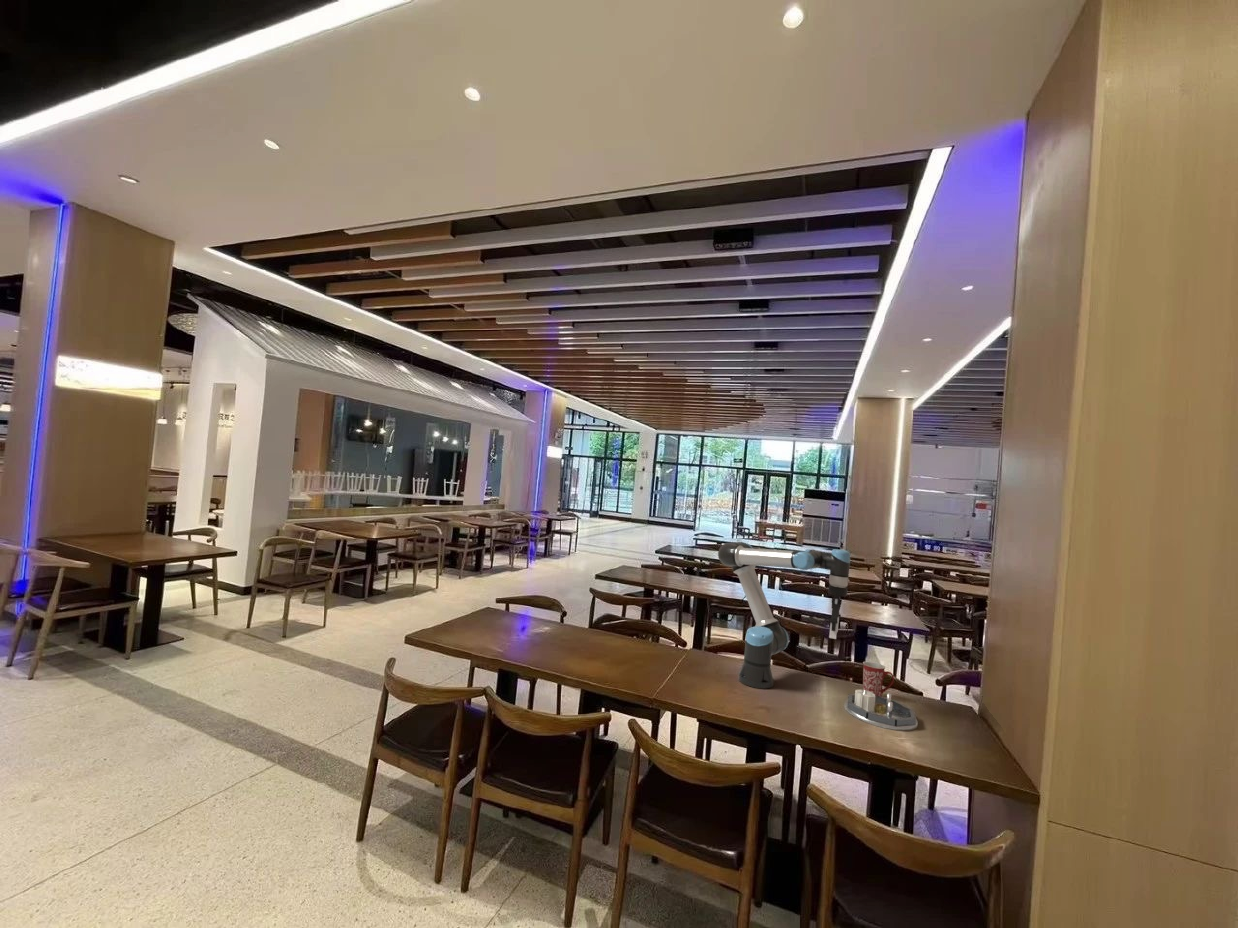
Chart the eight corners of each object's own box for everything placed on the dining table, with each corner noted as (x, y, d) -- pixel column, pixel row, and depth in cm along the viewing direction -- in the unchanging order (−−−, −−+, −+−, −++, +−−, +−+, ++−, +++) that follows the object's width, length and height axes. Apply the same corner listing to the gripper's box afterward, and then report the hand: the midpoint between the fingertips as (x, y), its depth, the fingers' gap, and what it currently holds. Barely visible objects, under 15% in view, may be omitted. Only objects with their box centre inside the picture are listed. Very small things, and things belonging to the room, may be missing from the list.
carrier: (843, 717, 205) (845, 696, 206) (845, 695, 229) (847, 676, 230) (920, 737, 194) (922, 714, 194) (914, 712, 218) (916, 692, 218)
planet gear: (854, 708, 213) (855, 693, 213) (854, 702, 219) (855, 688, 219) (874, 713, 209) (875, 698, 210) (874, 707, 216) (875, 692, 216)
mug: (859, 695, 231) (862, 664, 232) (861, 689, 239) (863, 659, 239) (891, 704, 225) (894, 672, 226) (892, 697, 233) (894, 666, 233)
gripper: (846, 591, 215) (841, 643, 214) (848, 583, 238) (843, 630, 237) (827, 588, 218) (822, 639, 218) (830, 580, 241) (826, 626, 240)
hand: (833, 634), depth 227 cm, fingers open, 13 cm apart
